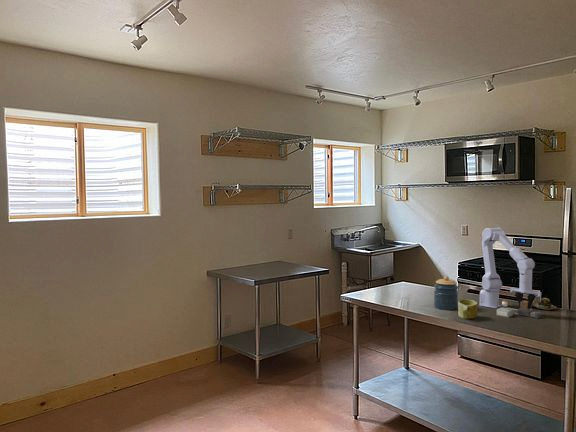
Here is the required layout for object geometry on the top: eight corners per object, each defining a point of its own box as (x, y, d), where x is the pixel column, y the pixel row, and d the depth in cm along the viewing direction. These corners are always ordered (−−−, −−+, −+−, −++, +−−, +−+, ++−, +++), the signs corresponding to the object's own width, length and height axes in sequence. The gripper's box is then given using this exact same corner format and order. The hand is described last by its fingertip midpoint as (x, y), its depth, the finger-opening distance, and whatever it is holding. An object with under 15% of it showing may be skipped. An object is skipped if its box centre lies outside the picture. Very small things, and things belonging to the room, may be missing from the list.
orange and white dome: (501, 305, 236) (501, 301, 236) (503, 304, 238) (503, 300, 238) (506, 306, 235) (506, 301, 234) (508, 305, 236) (508, 301, 236)
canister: (460, 310, 246) (460, 278, 245) (435, 309, 248) (435, 277, 248) (456, 305, 259) (456, 274, 258) (432, 304, 261) (432, 273, 260)
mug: (459, 309, 242) (463, 293, 238) (477, 318, 236) (483, 302, 232) (449, 318, 233) (454, 302, 229) (468, 327, 227) (474, 311, 223)
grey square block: (496, 315, 237) (496, 309, 237) (501, 313, 241) (501, 307, 241) (508, 317, 232) (508, 311, 232) (512, 315, 236) (513, 309, 236)
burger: (527, 307, 254) (527, 294, 253) (542, 305, 258) (543, 292, 257) (546, 312, 242) (546, 298, 242) (562, 310, 247) (562, 296, 246)
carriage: (517, 314, 237) (517, 301, 236) (522, 312, 241) (522, 299, 240) (527, 316, 233) (528, 303, 233) (532, 314, 237) (532, 301, 237)
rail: (501, 311, 243) (501, 307, 243) (505, 310, 247) (505, 305, 246) (537, 318, 230) (537, 313, 230) (541, 316, 233) (541, 311, 233)
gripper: (508, 280, 239) (507, 306, 239) (537, 285, 228) (537, 311, 229) (513, 279, 243) (513, 304, 244) (543, 283, 233) (542, 309, 233)
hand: (525, 307), depth 237 cm, fingers closed on carriage, 4 cm apart
